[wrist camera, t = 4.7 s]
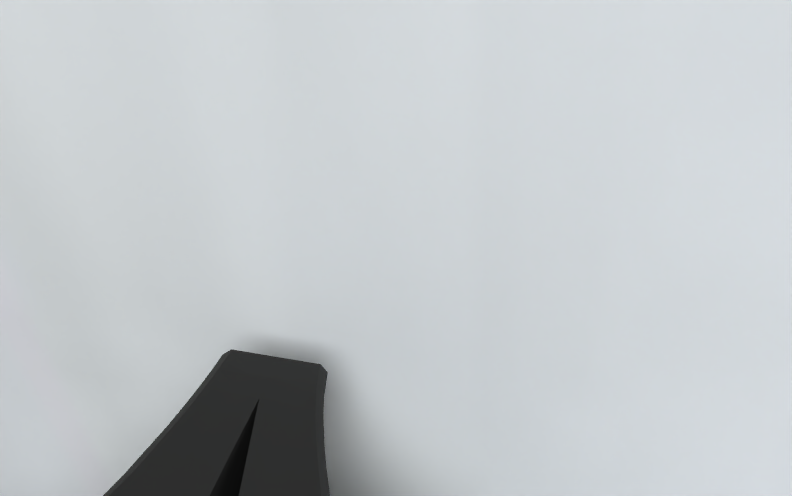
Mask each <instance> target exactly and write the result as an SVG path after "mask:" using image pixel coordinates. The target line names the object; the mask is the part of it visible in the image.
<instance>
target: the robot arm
mask: <svg viewBox="0 0 792 496" xmlns="http://www.w3.org/2000/svg"><path fill="white" fill-rule="evenodd" d="M326 379H327V371H326V370H325V369H324V368H323V367H322V366H321V364H315V363H309V362H303V361H297V360H291V359H285V358H279V357H273V356H267V355H261V354H255V353H249V352H243V351H237V350H230V351H228V352H226V353H225V354H223V355H222V356H221V358H220V359H219V361H218V362H217V364H216V365H215V367H214V368H213V369H212V371H211V372H210V373H209V375H208V376H207V377H206V379H205V380H204V381H203V383H202V384H201V385H200V387H199V388H198V389H197V391H196V392H195V393H194V394H193V396H192V397H191V398H190V399H189V401H188V402H187V403H186V404H185V406H184V407H183V408H182V409H181V410H180V412H179V413H178V414H177V415H176V416H175V418H174V419H173V420H172V421H171V422H170V424H169V425H168V426H167V427H166V428H165V429H164V431H163V432H162V433H161V434H160V435H159V436H158V437H157V438H156V439H155V441H154V442H153V443H152V444H151V445H150V446H149V447H148V448H147V450H146V451H145V452H144V453H143V454H142V455H141V456H140V457H139V459H138V460H137V461H136V462H135V463H134V464H133V465H132V466H131V467H130V469H129V470H128V471H127V472H126V473H125V474H124V475H123V476H122V477H121V478H120V479H119V480H118V481H117V482H116V483H115V484H114V485H113V486H112V487H111V488H110V489H109V490H108V491H107V492H106V493H105V494H104V495H103V496H330V494H329V486H328V478H327V471H326V460H325V447H324V426H323V407H324V393H325V386H326Z"/></svg>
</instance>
